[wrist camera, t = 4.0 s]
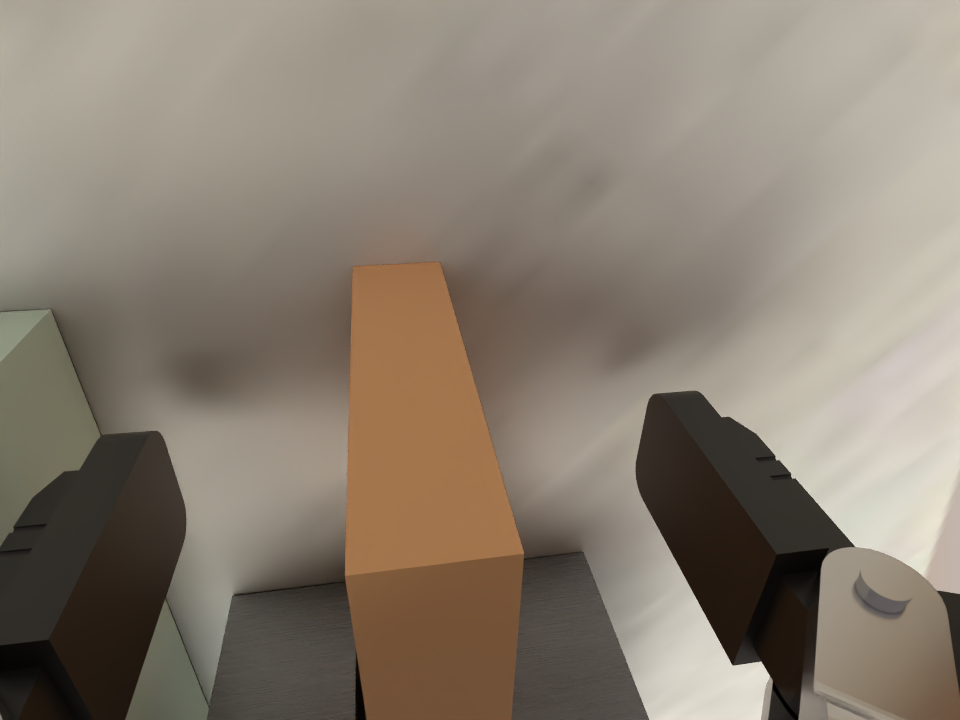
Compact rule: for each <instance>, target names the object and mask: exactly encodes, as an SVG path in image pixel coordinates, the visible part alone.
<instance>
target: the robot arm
mask: <svg viewBox="0 0 960 720" xmlns="http://www.w3.org/2000/svg"><path fill="white" fill-rule="evenodd" d="M636 479H637V485H638V489H639V492H640V494H641V497H642V499H643V501H644V503H645V504H646V506H647V508H648V510H649V512H650V514H651V516H652V517H653V519H654V521H655V523H656V525H657V527H658V528H659V530H660V532H661V534H662V536H663V538H664V540H665V541H666V543H667V545H668V547H669V549H670V551H671V552H672V554H673V556H674V558H675V560H676V562H677V564H678V565H679V567H680V569H681V571H682V573H683V575H684V576H685V578H686V580H687V582H688V584H689V586H690V588H691V589H692V591H693V593H694V595H695V597H696V599H697V600H698V602H699V604H700V606H701V608H702V610H703V612H704V613H705V615H706V617H707V619H708V621H709V623H710V624H711V626H712V628H713V630H714V632H715V634H716V635H717V637H718V639H719V641H720V643H721V645H722V647H723V648H724V650H725V652H726V654H727V656H728V658H729V659H730V661H731V663H732V665H740V664H747V663H753V662H760V661H762V663H763V665H764V666H765V668H766V670H767V672H768V673H769V675H770V678H769V680H768V682H767V685H766V689H765V694H764V702H763V709H762V717H761V720H960V594H955V593H949V592H943V591H937V590H936V589H935V588H934V587H933V586H932V585H931V584H930V583H929V582H928V581H927V580H926V579H925V578H924V577H923V576H922V575H921V574H919V573H918V572H917V571H915V570H914V569H913V568H911V567H910V566H908V565H906V564H905V563H903V562H901V561H899V560H897V559H895V558H893V557H891V556H889V555H886V554H884V553H881V552H878V551H874V550H871V549H865V548H857V547H855V546H854V545H853V544H852V543H851V542H850V540H849V539H848V538H847V537H846V536H845V535H844V534H843V532H842V531H841V530H840V529H839V528H838V527H837V526H836V524H835V523H834V522H833V521H832V520H831V519H830V518H829V516H828V515H827V514H826V513H825V512H824V511H823V510H822V508H821V507H820V506H819V505H818V504H817V503H816V502H815V500H814V499H813V498H812V497H811V496H810V495H809V494H808V492H807V491H806V490H805V489H804V488H803V487H802V486H801V484H800V483H799V482H798V481H797V480H796V479H792V478H791V473H790V472H789V471H788V470H787V469H786V467H785V466H784V465H783V464H782V463H781V462H780V461H779V460H777V461H776V459H775V455H774V454H773V453H772V451H771V450H770V449H769V448H768V447H767V446H766V445H765V443H764V442H763V441H762V440H761V439H760V438H759V437H758V435H757V434H755V433H754V432H752V431H751V430H749V429H747V428H746V427H744V426H743V425H741V424H740V423H738V422H737V421H735V420H733V419H732V418H730V417H722V418H721V416H720V415H719V414H718V413H717V412H716V410H715V409H714V408H713V407H712V405H711V404H710V403H709V402H708V401H707V399H706V398H705V397H704V396H703V395H702V394H701V393H700V392H698V391H685V392H672V393H659V394H654V395H652V396H651V398H650V399H649V402H648V405H647V410H646V415H645V420H644V425H643V430H642V435H641V440H640V445H639V450H638V455H637V460H636ZM13 528H14V531H13V533H9V534H8V536H7V537H6V539H5V540H4V542H3V543H2V545H1V546H0V720H125V719H126V716H127V713H128V710H129V707H130V704H131V701H132V698H133V695H134V692H135V689H136V685H137V682H138V679H139V676H140V673H141V670H142V667H143V664H144V661H145V658H146V655H147V652H148V649H149V646H150V643H151V640H152V637H153V634H154V631H155V628H156V625H157V622H158V619H159V616H160V613H161V610H162V607H163V604H164V601H165V598H166V595H167V592H168V588H169V585H170V582H171V579H172V576H173V573H174V570H175V567H176V564H177V561H178V558H179V555H180V552H181V549H182V546H183V543H184V539H185V532H186V510H185V504H184V500H183V497H182V494H181V491H180V488H179V485H178V482H177V478H176V475H175V472H174V469H173V466H172V463H171V459H170V456H169V453H168V450H167V447H166V444H165V441H164V439H163V437H162V435H161V434H160V433H159V432H158V431H147V432H134V433H121V434H108V435H103V436H101V437H100V438H99V439H98V440H97V441H96V443H95V444H94V446H93V448H92V449H91V451H90V453H89V454H88V456H87V458H86V459H85V461H84V463H83V464H82V466H81V468H80V470H75V471H64V472H63V473H62V474H60V475H59V476H58V477H57V478H56V479H54V480H53V481H52V482H51V483H49V484H48V485H47V486H46V487H45V488H43V489H42V490H41V491H40V492H39V493H37V494H36V495H35V496H34V497H33V498H32V499H31V501H30V502H29V504H28V505H27V507H26V508H25V510H24V511H23V513H22V514H21V516H20V517H19V519H18V520H17V522H16V523H15V525H14V526H13Z"/></svg>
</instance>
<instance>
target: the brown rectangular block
mask: <svg viewBox="0 0 960 720" xmlns="http://www.w3.org/2000/svg"><path fill="white" fill-rule="evenodd" d="M523 562H524V551H523V548H522V544H521V541H520V537H519V534H518V530H517V527H516V523H515V520H514V517H513V513H512V510H511V506H510V503H509V499H508V496H507V492H506V489H505V485H504V482H503V478H502V475H501V472H500V468H499V465H498V461H497V458H496V454H495V451H494V447H493V444H492V440H491V437H490V433H489V430H488V427H487V423H486V420H485V416H484V413H483V409H482V406H481V402H480V399H479V395H478V392H477V388H476V385H475V382H474V378H473V375H472V371H471V368H470V364H469V361H468V357H467V354H466V350H465V347H464V343H463V340H462V337H461V333H460V330H459V326H458V323H457V319H456V316H455V312H454V309H453V305H452V302H451V298H450V295H449V292H448V288H447V285H446V281H445V278H444V274H443V271H442V267H441V264H440V262H428V263H408V264H387V265H367V266H353V275H352V315H351V354H350V394H349V433H348V473H347V512H346V551H345V580H346V587H347V593H348V600H349V606H350V613H351V620H352V626H353V633H354V639H355V646H356V653H357V659H358V666H359V672H360V679H361V686H362V692H363V699H364V705H365V712H366V719H367V720H511V716H512V703H513V690H514V677H515V665H516V652H517V639H518V626H519V614H520V601H521V588H522V575H523Z"/></svg>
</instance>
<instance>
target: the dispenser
mask: <svg viewBox="0 0 960 720" xmlns="http://www.w3.org/2000/svg"><path fill="white" fill-rule="evenodd" d="M207 720H367V719H366V712H365V705H364V699H363V692H362V686H361V679H360V672H359V666H358V659H357V653H356V646H355V639H354V633H353V626H352V620H351V613H350V606H349V600H348V593H347V587H346V582H343V583H335V584H327V585H319V586H311V587H303V588H295V589H287V590H279V591H271V592H263V593H255V594H247V595H239V596H232V600H231V605H230V610H229V615H228V620H227V624H226V629H225V634H224V639H223V644H222V648H221V653H220V658H219V663H218V668H217V672H216V677H215V682H214V687H213V692H212V696H211V701H210V706H209V711H208V716H207ZM511 720H649V718H648V715H647V713H646V710H645V708H644V705H643V703H642V700H641V698H640V695H639V693H638V690H637V687H636V685H635V682H634V680H633V677H632V675H631V672H630V670H629V667H628V665H627V662H626V659H625V657H624V654H623V652H622V649H621V647H620V644H619V642H618V639H617V637H616V634H615V631H614V629H613V626H612V624H611V621H610V619H609V616H608V614H607V611H606V609H605V606H604V603H603V601H602V598H601V596H600V593H599V591H598V588H597V586H596V583H595V580H594V578H593V575H592V573H591V570H590V568H589V565H588V563H587V560H586V558H585V555H584V552H581V553H574V554H566V555H558V556H550V557H542V558H534V559H526V560H524V562H523V575H522V588H521V601H520V614H519V626H518V639H517V652H516V665H515V677H514V690H513V703H512V716H511Z"/></svg>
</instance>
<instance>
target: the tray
mask: <svg viewBox="0 0 960 720" xmlns="http://www.w3.org/2000/svg"><path fill="white" fill-rule="evenodd" d="M100 437H101V435H100V433H99V430H98V428H97V425H96V422H95V420H94V417H93V415H92V412H91V410H90V407H89V405H88V402H87V400H86V397H85V395H84V392H83V390H82V387H81V385H80V382H79V380H78V377H77V375H76V372H75V369H74V367H73V364H72V362H71V359H70V357H69V354H68V352H67V349H66V347H65V344H64V342H63V339H62V337H61V334H60V332H59V329H58V327H57V324H56V322H55V319H54V317H53V314H52V311H51V309H47V310H29V311H12V312H0V546H1V545H2V543H3V542H4V540H5V539H6V537H7V536H8V534H9V533H13V531H14V528H13V526H14V525H15V523H16V522H17V520H18V519H19V517H20V516H21V514H22V513H23V511H24V510H25V508H26V507H27V505H28V504H29V502H30V501H31V499H32V498H33V497H34V496H35V495H36V494H37V493H39V492H40V491H41V490H42V489H43V488H45V487H46V486H47V485H48V484H49V483H51V482H52V481H53V480H54V479H56V478H57V477H58V476H59V475H60V474H62V473H63V472H64V471H75V470H80V468H81V466H82V464H83V463H84V461H85V459H86V458H87V456H88V454H89V453H90V451H91V449H92V448H93V446H94V444H95V443H96V441H97V440H98V439H99V438H100ZM208 711H209V708H208V705H207V703H206V700H205V697H204V695H203V692H202V690H201V687H200V685H199V682H198V680H197V677H196V675H195V672H194V670H193V667H192V665H191V662H190V660H189V657H188V655H187V652H186V650H185V647H184V644H183V642H182V639H181V637H180V634H179V632H178V629H177V627H176V624H175V622H174V619H173V617H172V614H171V612H170V609H169V607H168V604H167V602H166V599H165V601H164V604H163V607H162V610H161V613H160V616H159V619H158V622H157V625H156V628H155V631H154V634H153V637H152V640H151V643H150V646H149V649H148V652H147V655H146V658H145V661H144V664H143V667H142V670H141V673H140V676H139V679H138V682H137V685H136V689H135V692H134V695H133V698H132V701H131V704H130V707H129V710H128V713H127V716H126V719H125V720H207V716H208Z"/></svg>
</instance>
